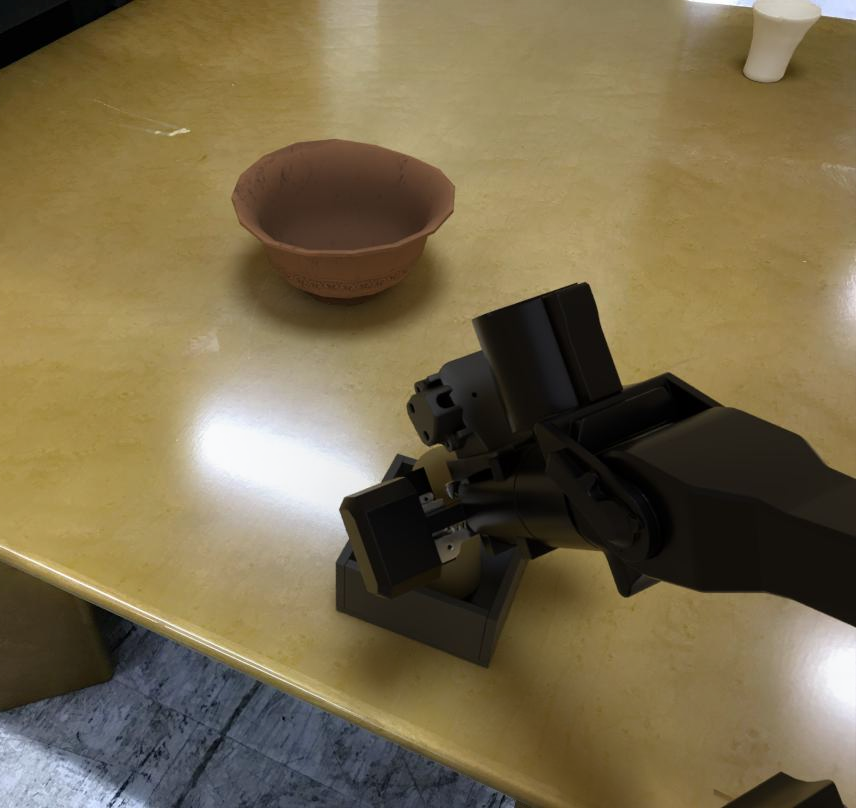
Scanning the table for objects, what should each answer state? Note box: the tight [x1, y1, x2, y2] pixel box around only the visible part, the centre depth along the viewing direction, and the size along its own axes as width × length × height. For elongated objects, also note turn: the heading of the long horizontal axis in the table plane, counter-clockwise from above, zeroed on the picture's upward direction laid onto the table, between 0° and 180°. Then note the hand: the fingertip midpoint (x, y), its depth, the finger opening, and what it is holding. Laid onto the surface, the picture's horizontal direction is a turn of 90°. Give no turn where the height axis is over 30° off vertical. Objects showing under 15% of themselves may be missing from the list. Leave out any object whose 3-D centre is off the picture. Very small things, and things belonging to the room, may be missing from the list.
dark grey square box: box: [335, 453, 529, 669], centre depth 65 cm, size 11×11×6 cm
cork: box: [412, 445, 482, 600], centre depth 62 cm, size 6×6×11 cm
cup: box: [742, 0, 823, 84], centre depth 127 cm, size 9×9×10 cm
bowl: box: [230, 138, 456, 307], centre depth 91 cm, size 22×22×11 cm
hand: (436, 495), depth 62 cm, fingers closed on cork, 5 cm apart
